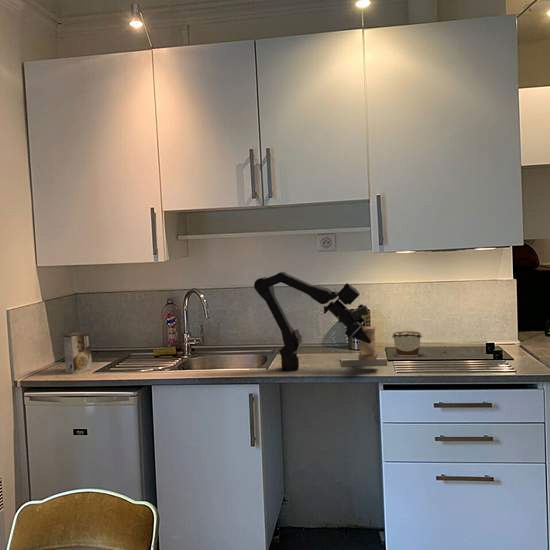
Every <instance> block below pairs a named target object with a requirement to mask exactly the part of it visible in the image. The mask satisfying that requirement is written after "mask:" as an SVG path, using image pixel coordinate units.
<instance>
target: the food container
mask: <svg viewBox="0 0 550 550" xmlns="http://www.w3.org/2000/svg"><path fill="white" fill-rule="evenodd" d="M391 336H392V339H393V342H394V350H395V355H420V346H421V345H420V344H421V339H422V333H421V332H418V331H415V330H414V331H413V330H403V331H395V332H393V333H392V335H391Z"/></svg>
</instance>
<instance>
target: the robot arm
mask: <svg viewBox="0 0 550 550" xmlns="http://www.w3.org/2000/svg"><path fill="white" fill-rule="evenodd" d="M278 284H283V285H286V286H288V287H290V288H292V289H295V290H297V291H299V292H301V293H304V294H306V295H308V296H310V298H311V299H312V300H314V301H316V302H317V303H318V304H320V305H324V306H323V314H327V313H328V312H330V314H332V315H333V316H334V317H335V318H336V319H337V320H338V323H339V324H342V325H343V326H344V327H345V329H346V330H345V333H344V334H345V335H346V336H347V338H350V337H351V338H353V339H355V340H359V341H360V340H361V341H363V342H366V343H369V344H370V343H371V340H370V339H369V338H368V336H367V335H366V334H365V332H364V331H363V327H366V318H365V316H367V315H368V314H369V313H370V310H369V309H368V306H367V305H364V304H362V303H361V304H359V305H357V309H354V310H353V309H349V308H348V307H347V305H352V303H353V302H355V301H356V299H358V298H359V296H360V295H361V294H360V292H359V291H358V290H357V288H355V287H353V286H352V285H351V284H349V283H348V282H346V283H345V284H344V285H343V287H342V288H341V289H340V290H339V291H332V290H331V289H329V288H327V287H323V286H320V285H314V284H311V283H309V282H307V281H304V280H302V279H299V278H297V277H295V276H293V275H291V274H289V273H287V272H286V271H279V272H278V273H277V274H274V275H272V276H269V277H267V276H263V277H259V278H257V279H256V280H255V281H254V283H253V287H254V290H255V291H256V292H257V294H258V295H259V297H261V298H262V299H263V300H264V301H265V303H266V305H267V306H268V309H269V310H270V313H271V314H272V317H273V318H274V320H275V322H276V324H277V326H278V328H279V330H280V332H281V337H282V341H283V345H284V346H282V348H280V350H278V353H279V354H280V361H281V368H280V371H282V372H283V371H284V372H285V371H298V369H299V368H300V363H299V362H300V361H299V360H300V357H299V355H298V353H297V352H298V350H299V348H300V347H301V346H302V343H303V340H302V338H303V336H302V335H301V333H300V331H299V328H296V329H294V328H293V327H292V325H291V323H290V322H289V320H288V318H287V317H286V315H285V312H284V311H283V309H282V306H281V305H280V303H279V301H278V299H277V298H276V297H277V296H276V294H275V293H276V292H275V288H274V286H275V285H278ZM335 299H336V300H335ZM333 300H335V301H333ZM330 301H331V302H330ZM326 304H327V305H326Z"/></svg>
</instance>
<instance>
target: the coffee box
mask: <svg viewBox="0 0 550 550" xmlns="http://www.w3.org/2000/svg"><path fill="white" fill-rule="evenodd" d="M90 334H91V333H90V332H86V331H79V332H73V333H67V334H64V335H63V336H62V337H63V346H64V347H63V348H64V361H65V373H68V374H73V375H75V374H80V373H84V372H87V371H88V372H89V371H91V370H93V360H92V349H91V348H92V347H91V335H90Z"/></svg>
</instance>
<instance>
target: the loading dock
mask: <svg viewBox="0 0 550 550" xmlns="http://www.w3.org/2000/svg"><path fill="white" fill-rule="evenodd" d="M359 354H360V352H358V353H340V354H339V355H340V365H341V367H342V368H343V367H344V368H346V367H373V366H374V367H375V366H376V367H377V366H379V367H380V366H381V365H383V366H388V358H387V357H386V355H385V352H377V355H378V357H377V359H376V360H359ZM381 367H382V366H381Z"/></svg>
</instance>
